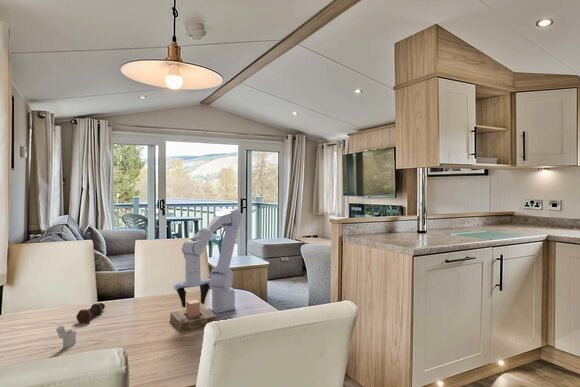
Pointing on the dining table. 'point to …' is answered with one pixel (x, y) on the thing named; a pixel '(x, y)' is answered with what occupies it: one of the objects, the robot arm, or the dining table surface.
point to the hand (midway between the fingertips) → (193, 305)
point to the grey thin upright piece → (67, 336)
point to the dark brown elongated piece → (90, 313)
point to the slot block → (192, 319)
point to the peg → (192, 308)
